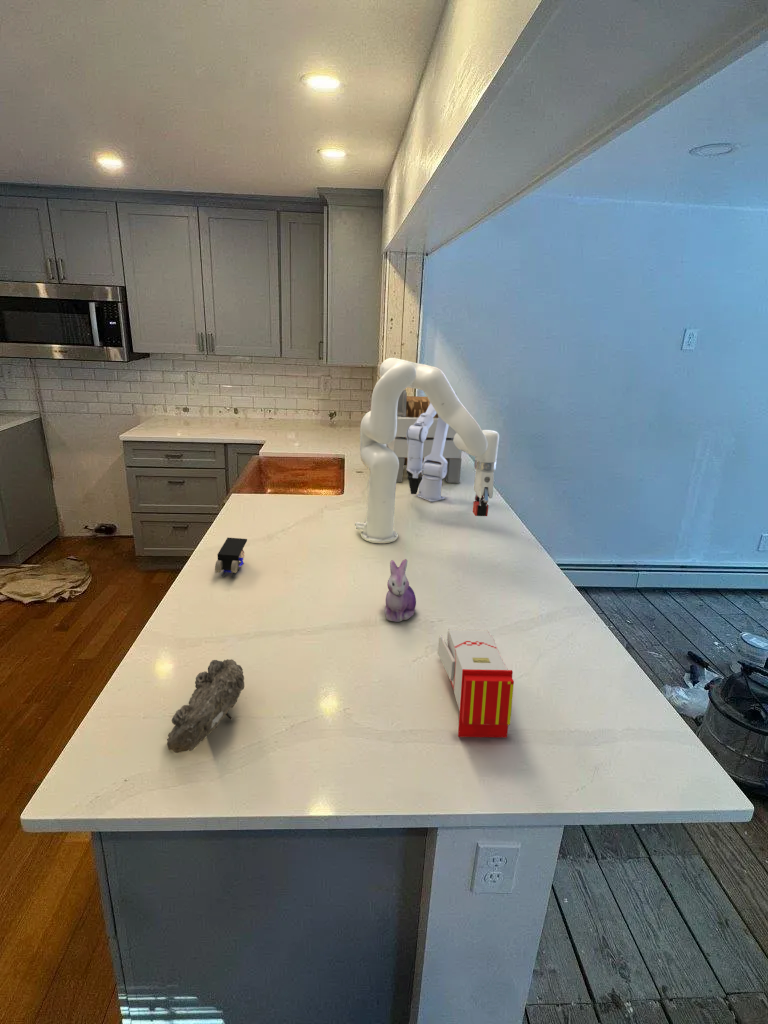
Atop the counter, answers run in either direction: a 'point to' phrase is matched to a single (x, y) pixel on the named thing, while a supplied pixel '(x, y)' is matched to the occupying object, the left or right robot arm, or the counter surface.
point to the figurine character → (230, 556)
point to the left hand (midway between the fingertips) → (479, 512)
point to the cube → (475, 508)
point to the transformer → (408, 416)
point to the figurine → (399, 594)
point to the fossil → (206, 705)
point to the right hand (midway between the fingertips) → (413, 490)
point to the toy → (478, 682)
